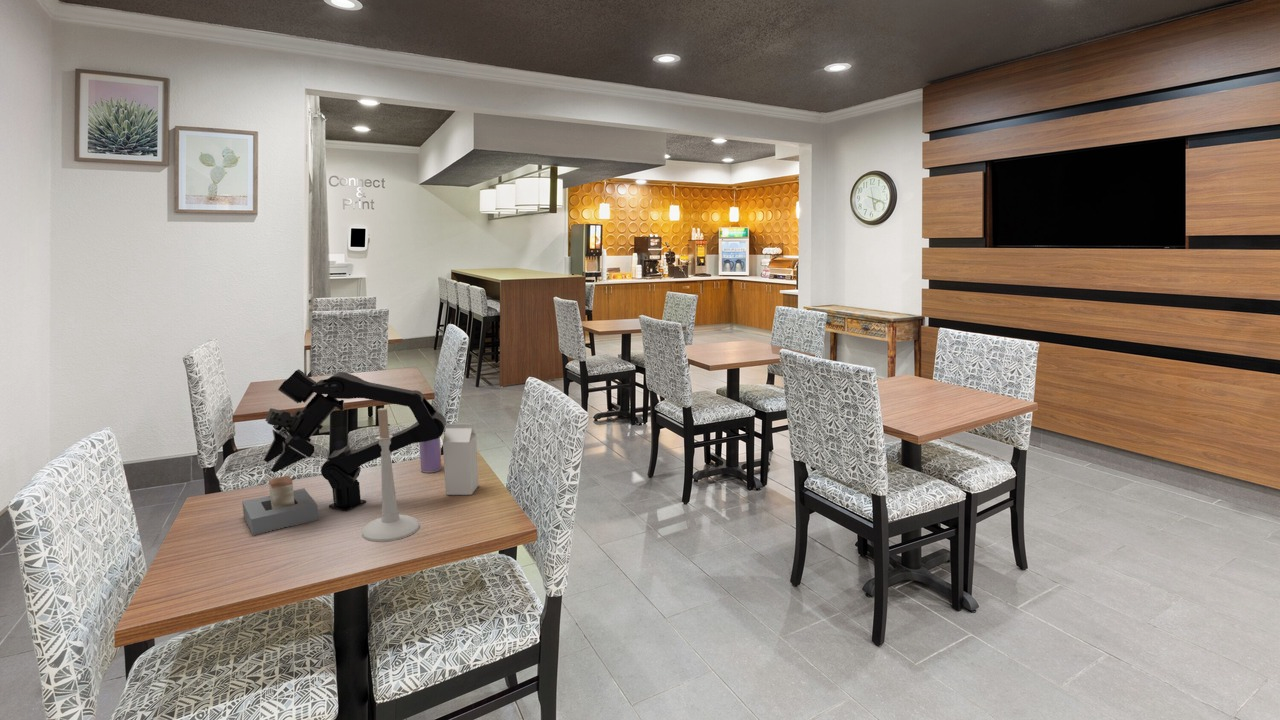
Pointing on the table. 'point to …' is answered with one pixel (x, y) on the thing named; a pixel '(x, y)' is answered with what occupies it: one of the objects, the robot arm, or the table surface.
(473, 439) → the milk carton
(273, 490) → the peg
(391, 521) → the candlestick
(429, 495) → the table surface
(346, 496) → the robot arm
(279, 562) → the table surface
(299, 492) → the socket block
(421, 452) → the beverage can
